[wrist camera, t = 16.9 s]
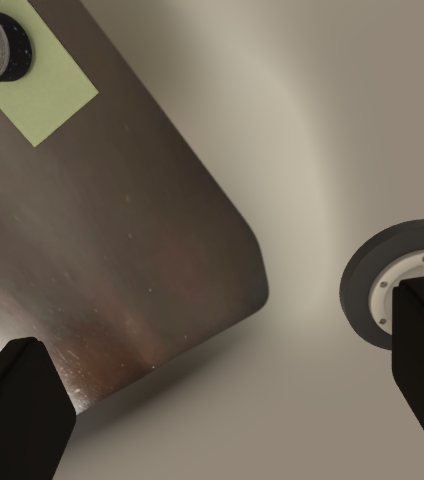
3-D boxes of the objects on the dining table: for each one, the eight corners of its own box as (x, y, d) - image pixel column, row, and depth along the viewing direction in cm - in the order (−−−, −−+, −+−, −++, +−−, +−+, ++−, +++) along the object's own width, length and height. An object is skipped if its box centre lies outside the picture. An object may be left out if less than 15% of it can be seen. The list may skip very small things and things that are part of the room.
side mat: (99, 92, 35) (98, 92, 35) (35, 147, 37) (34, 147, 37) (-32, -76, 30) (-34, -77, 30) (-97, -1, 32) (-99, -2, 32)
